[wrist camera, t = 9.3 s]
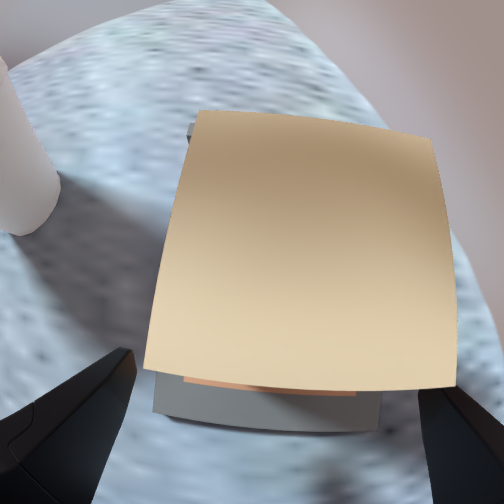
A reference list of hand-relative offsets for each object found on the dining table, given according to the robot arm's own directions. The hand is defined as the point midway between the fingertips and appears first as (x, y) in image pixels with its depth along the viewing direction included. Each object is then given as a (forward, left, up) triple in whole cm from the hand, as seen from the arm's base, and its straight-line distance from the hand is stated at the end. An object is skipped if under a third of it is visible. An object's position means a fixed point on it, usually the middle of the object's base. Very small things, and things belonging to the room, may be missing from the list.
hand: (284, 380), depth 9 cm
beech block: (+2, -1, -7) cm, 8 cm away
